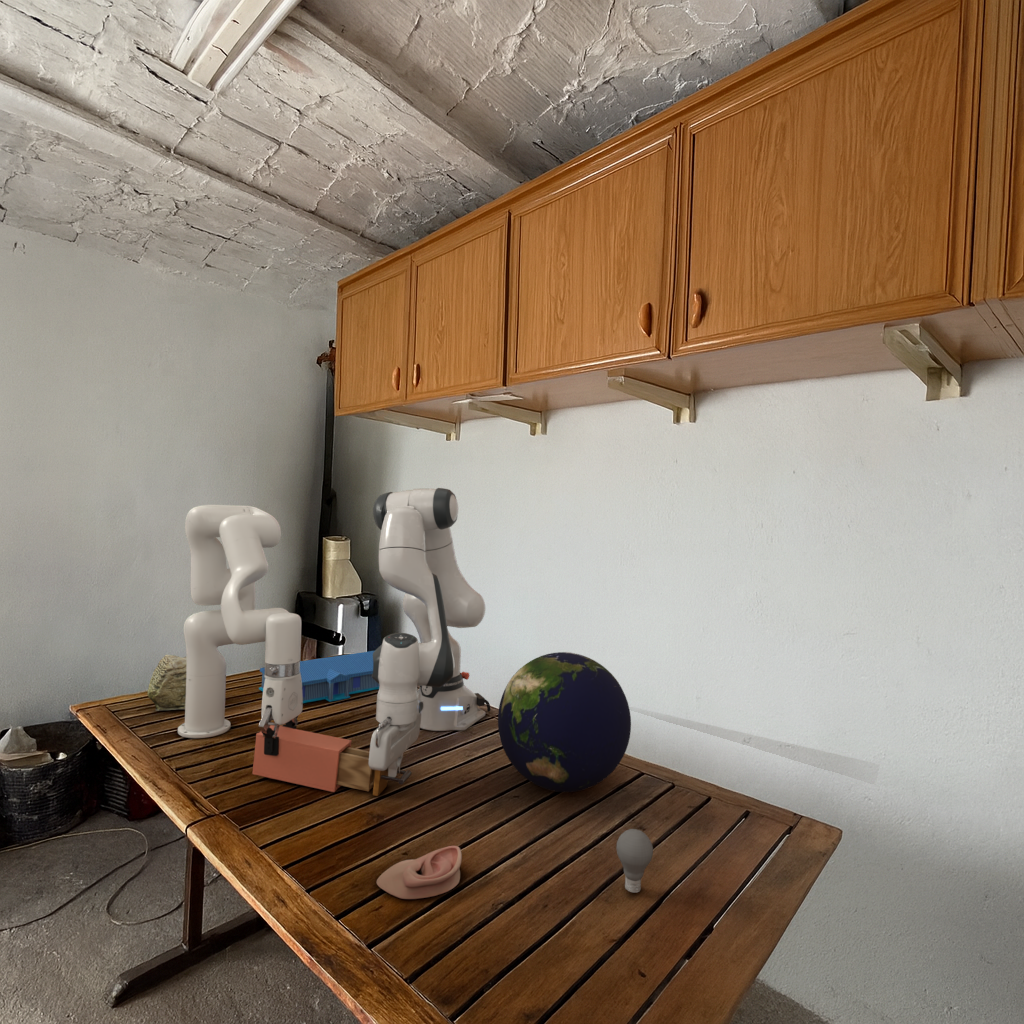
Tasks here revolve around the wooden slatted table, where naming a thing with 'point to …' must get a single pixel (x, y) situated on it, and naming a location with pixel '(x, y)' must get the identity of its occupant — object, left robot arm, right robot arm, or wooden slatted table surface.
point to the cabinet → (301, 758)
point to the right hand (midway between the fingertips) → (393, 775)
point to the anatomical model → (423, 874)
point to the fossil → (169, 683)
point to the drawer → (363, 772)
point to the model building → (335, 677)
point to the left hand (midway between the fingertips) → (280, 748)
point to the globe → (564, 722)
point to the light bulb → (634, 857)
